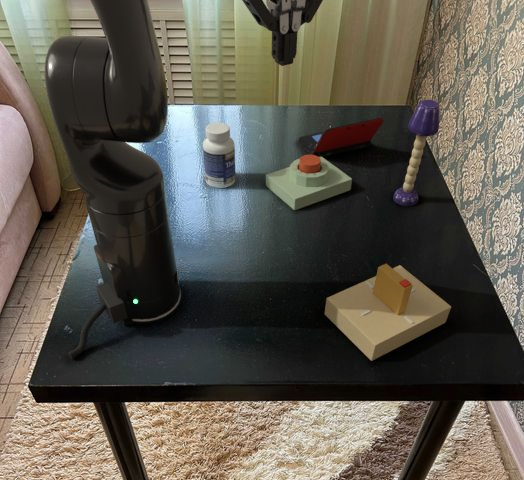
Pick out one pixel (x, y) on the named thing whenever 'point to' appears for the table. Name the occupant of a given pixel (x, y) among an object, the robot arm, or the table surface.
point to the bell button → (309, 164)
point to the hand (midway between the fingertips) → (283, 62)
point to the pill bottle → (219, 156)
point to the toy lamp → (418, 147)
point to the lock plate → (385, 316)
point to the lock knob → (392, 289)
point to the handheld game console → (341, 138)
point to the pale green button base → (307, 184)
